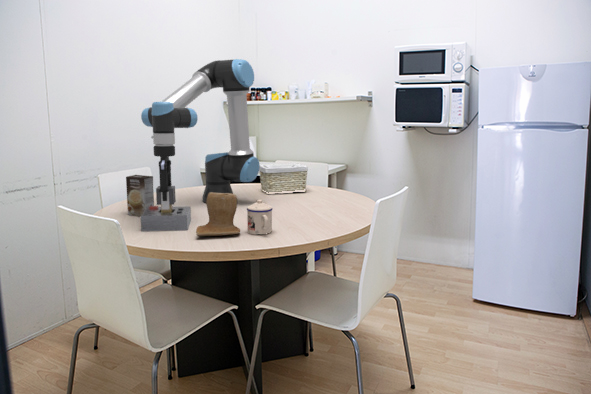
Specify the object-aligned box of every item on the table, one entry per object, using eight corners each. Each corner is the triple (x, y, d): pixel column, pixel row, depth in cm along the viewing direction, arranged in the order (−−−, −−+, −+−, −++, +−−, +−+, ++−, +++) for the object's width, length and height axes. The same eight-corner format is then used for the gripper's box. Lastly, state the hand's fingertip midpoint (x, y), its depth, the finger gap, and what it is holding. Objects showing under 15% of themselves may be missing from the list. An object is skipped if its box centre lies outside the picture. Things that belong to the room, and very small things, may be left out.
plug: (176, 214, 173) (174, 185, 171) (174, 217, 167) (173, 188, 165) (159, 214, 172) (158, 186, 170) (157, 218, 166) (156, 188, 164)
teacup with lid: (243, 230, 164) (243, 198, 162) (267, 228, 168) (267, 197, 166) (253, 238, 153) (253, 204, 151) (279, 236, 157) (279, 203, 155)
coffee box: (126, 215, 186) (124, 176, 183) (137, 212, 192) (135, 174, 189) (145, 217, 183) (143, 177, 181) (155, 213, 189) (153, 175, 186)
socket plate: (190, 219, 179) (190, 204, 178) (187, 230, 164) (186, 212, 163) (148, 220, 177) (148, 205, 176) (141, 231, 161) (140, 213, 160)
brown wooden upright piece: (237, 229, 166) (237, 188, 163) (241, 237, 155) (241, 194, 152) (195, 231, 162) (194, 189, 160) (196, 240, 151) (195, 195, 148)
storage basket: (265, 195, 235) (265, 167, 232) (257, 190, 250) (257, 164, 248) (308, 193, 242) (309, 166, 240) (299, 188, 258) (299, 162, 255)
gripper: (157, 143, 174) (160, 202, 178) (149, 146, 155) (152, 213, 159) (177, 143, 175) (179, 202, 179) (171, 146, 156) (174, 212, 160)
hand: (166, 207), depth 169 cm, fingers closed on plug, 6 cm apart
